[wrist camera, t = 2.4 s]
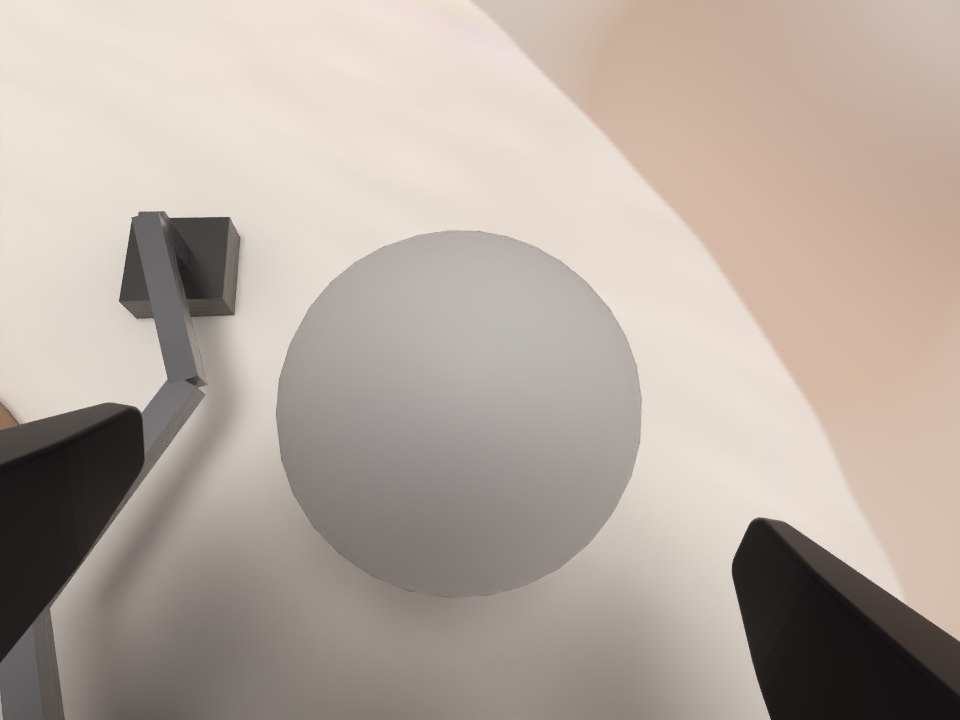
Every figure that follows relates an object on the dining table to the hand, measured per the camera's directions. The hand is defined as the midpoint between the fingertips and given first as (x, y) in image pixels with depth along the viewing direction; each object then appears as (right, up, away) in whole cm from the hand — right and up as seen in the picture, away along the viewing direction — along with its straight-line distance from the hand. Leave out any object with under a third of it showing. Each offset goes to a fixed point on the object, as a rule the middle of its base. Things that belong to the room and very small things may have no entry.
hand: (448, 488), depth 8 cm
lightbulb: (-1, -2, +9) cm, 9 cm away
